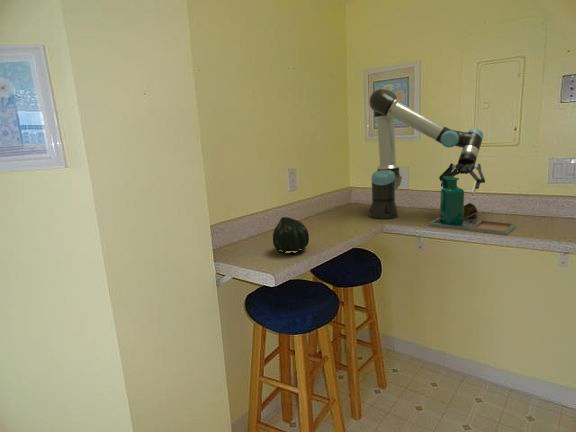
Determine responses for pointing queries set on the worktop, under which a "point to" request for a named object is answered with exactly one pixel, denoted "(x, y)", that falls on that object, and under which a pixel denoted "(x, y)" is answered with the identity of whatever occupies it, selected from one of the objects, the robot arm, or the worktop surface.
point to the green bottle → (451, 202)
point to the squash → (290, 235)
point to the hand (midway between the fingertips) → (457, 193)
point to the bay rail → (479, 226)
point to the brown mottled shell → (469, 211)
